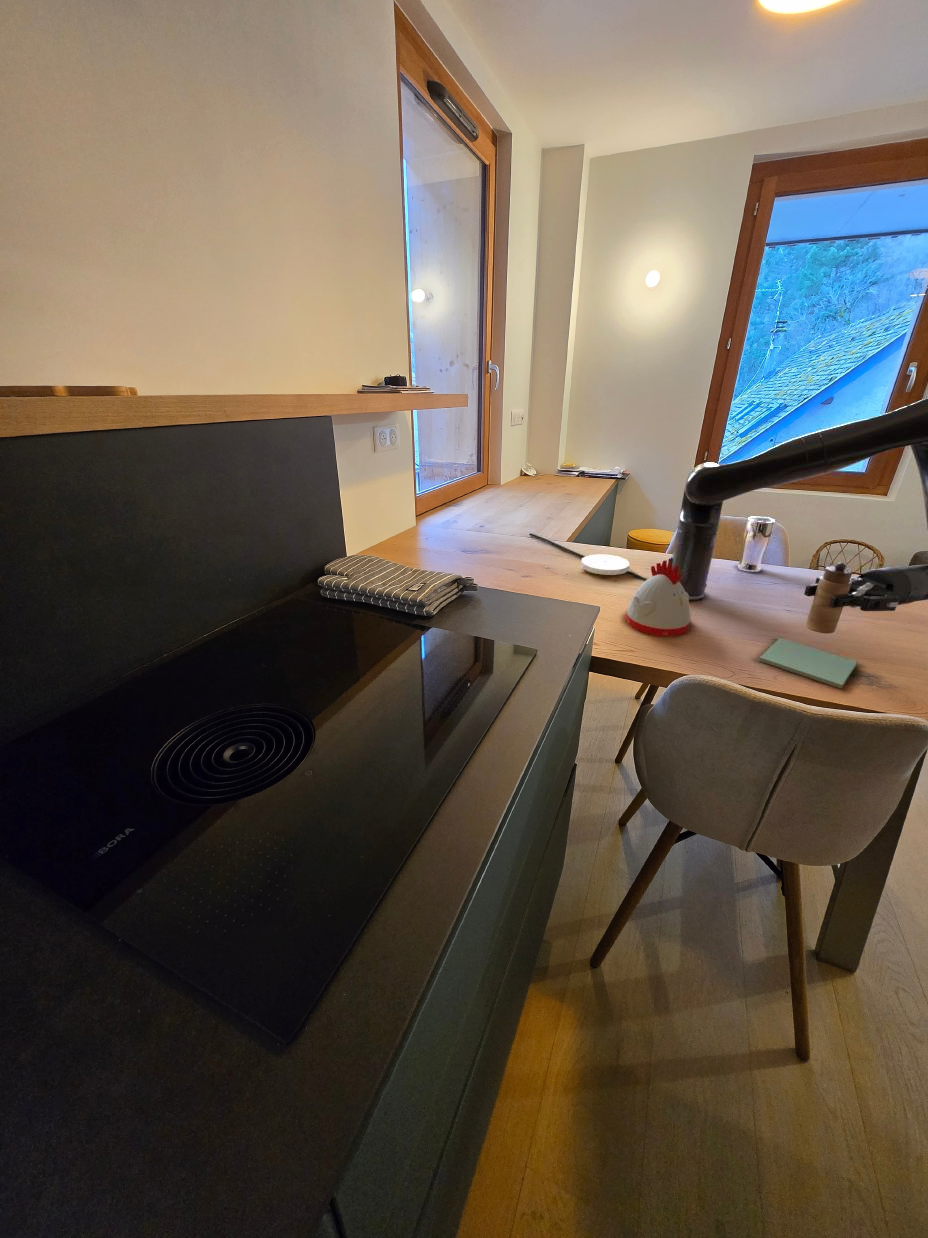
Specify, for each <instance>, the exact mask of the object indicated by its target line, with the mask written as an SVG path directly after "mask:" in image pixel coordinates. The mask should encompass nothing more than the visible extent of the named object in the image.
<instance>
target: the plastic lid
mask: <svg viewBox="0 0 928 1238" xmlns="http://www.w3.org/2000/svg"><path fill="white" fill-rule="evenodd" d="M584 556H585V557H583V558H581V560H580V567H581V568H582V569H583V570H584V571H586V572H589V573H592V574H596V575H597V574H598V575H604V576H617V575H623V574H626V573H625V572H627V571H630V566H631V563H630V561H629V560H628V559H626V558H623V557H621V556H618V555H612V554H603V553H602V554H601V553H600V554H599V553H598V554H589V555H584Z"/></svg>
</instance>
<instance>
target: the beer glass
mask: <svg viewBox="0 0 928 1238" xmlns="http://www.w3.org/2000/svg"><path fill="white" fill-rule="evenodd" d="M775 521H776V520H775V519H773V518H771V517H766V516H750V517H748V520H747V523H746V526H745V528H744V532H743V537H742V554H741V558H740V560H739V562H738V565H737V569H739V570H740V571H743V572H746V573H759V572H761V569H762V560H763V557H764V555H765V553H766V551H767V548H768V546H769V545H770V542H771V540H772V536H773V532H774V527H775Z"/></svg>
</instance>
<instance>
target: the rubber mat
mask: <svg viewBox="0 0 928 1238" xmlns="http://www.w3.org/2000/svg"><path fill="white" fill-rule="evenodd" d="M759 662H762V663H764V664H767V665H769V666H770V665H771V666H773V667H777V668H780V669H782V670H785V671H788V672H791V673H793V674H797V675H800V676H803V677H805V678H809V679H811V680H815V681H817V682H820V683H824V684H827V685H830V686H832V687H835V688H838V689H842V688H843V686H844V685H845V684H846V682H847V681H848V679H849V678H850V676H851V674H852V673H853V671H854V670H855V668H856V666H857V665H858V661H857V660H854V659H850V658H847V657H844V656H841V655H839V654H834V653H831V652H828V651H826V650H825V651H824V650H822V649H819V648H814V647H811V646H808V645H804V644H801V643H798V642H795V641H792V640H788V639H785V638H781V637H779V638H778V639H777V640H776V641H775V642H774V643H773V644H772V645H771V646H769V648H767V650H766V651H765V652H764V653H763V654H762V655H761V656H760V657H759Z"/></svg>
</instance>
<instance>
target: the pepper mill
mask: <svg viewBox="0 0 928 1238" xmlns="http://www.w3.org/2000/svg"><path fill="white" fill-rule="evenodd" d="M823 575H824V576H823ZM823 575H820V576H821V577H820V576H819V577H820V580H819V583H818V586H817V590H816V593H815V596H813V599H812V603H811V605H810V609H809V612H808V615H807V617H806V618H807V619H806V622H805V628H807V629H808V630H810V631H812V632H815V633H819V634H825V635H826V634H827V635H829V634H833V633H835V632H836V629H837V626H838V624H839V621H840V618H841V615H842V612H843V609H844V607H837V608H832V607H830V606H829V604H830V601H831V598H832V597H833V596H834V595H842V594H848V592H849V589H850V587H851V584H852V582H851V581H850V578H852V575H853V570H852V569H850V568H848V567H847V566H846V564H845V563H844V562H838V563H836V564H835V565H829V566H826V567H825V570H824V572H823Z"/></svg>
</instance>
